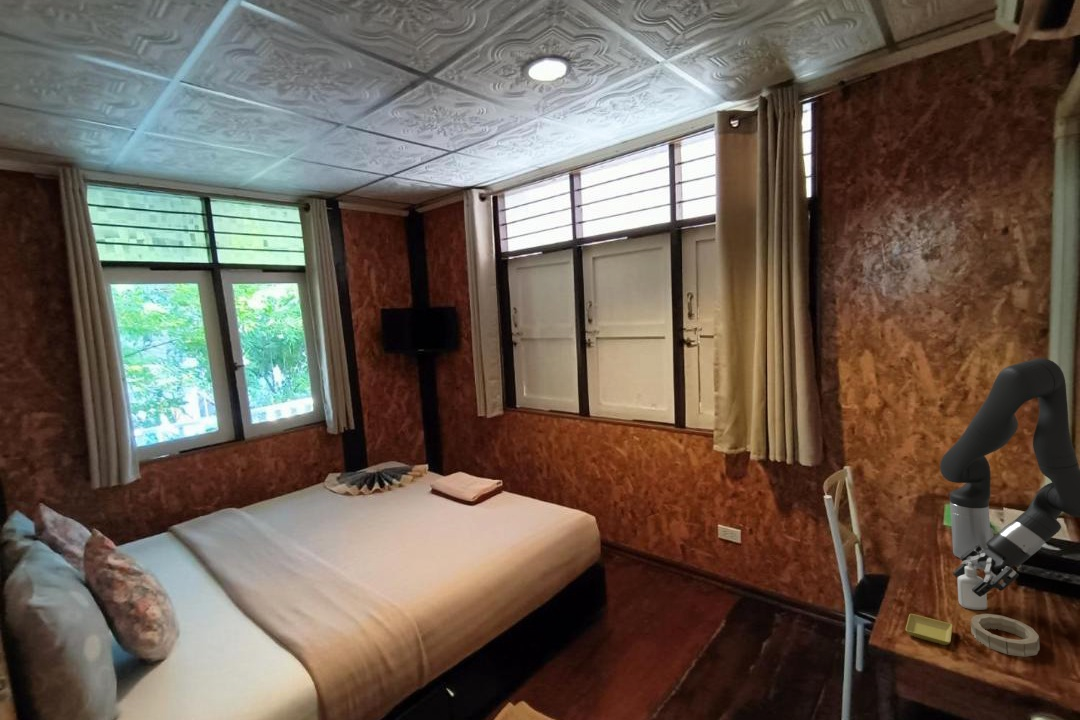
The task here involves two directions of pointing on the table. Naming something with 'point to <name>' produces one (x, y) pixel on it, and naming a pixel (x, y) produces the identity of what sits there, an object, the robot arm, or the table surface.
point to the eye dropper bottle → (970, 589)
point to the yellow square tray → (929, 629)
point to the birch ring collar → (1004, 645)
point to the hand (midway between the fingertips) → (965, 585)
